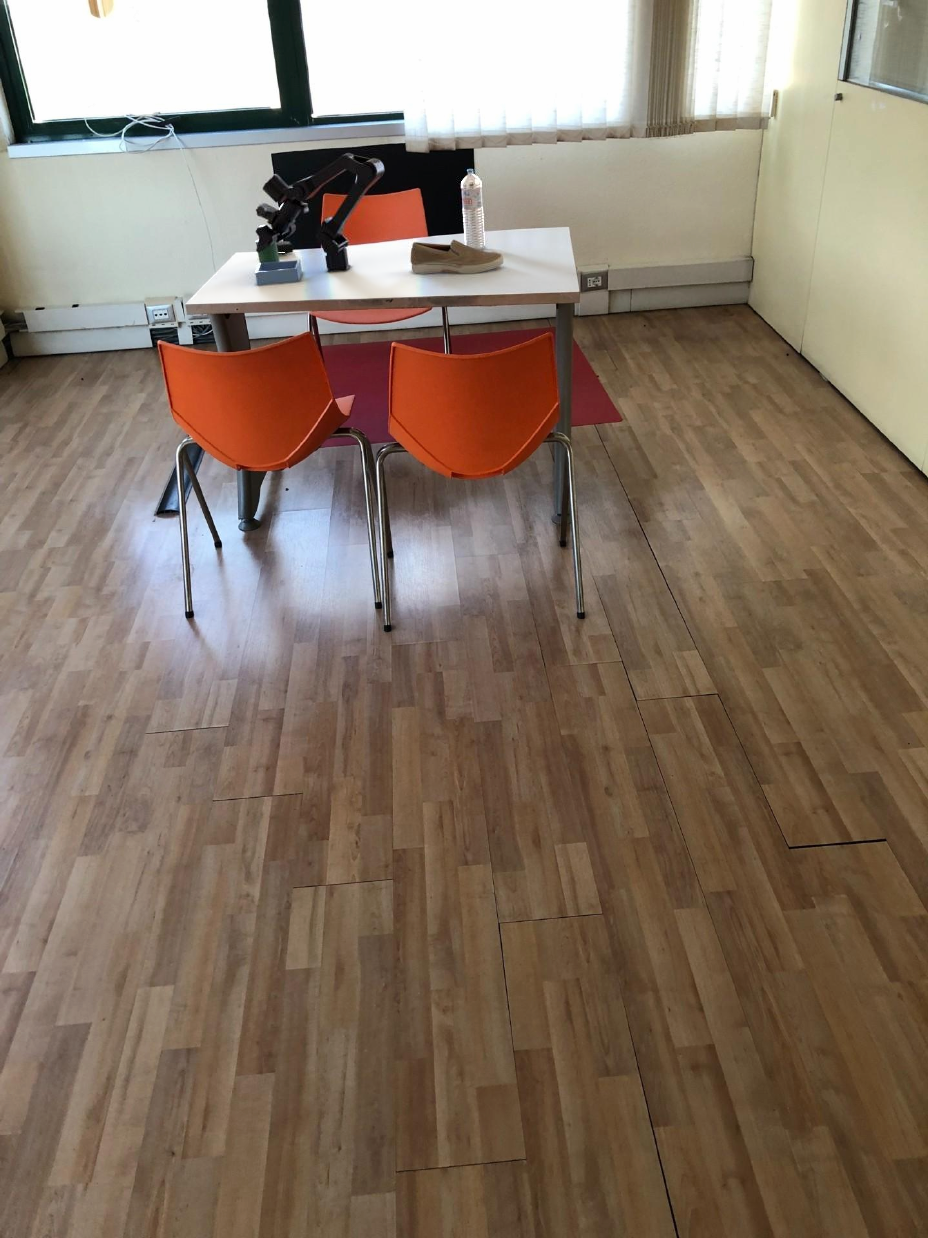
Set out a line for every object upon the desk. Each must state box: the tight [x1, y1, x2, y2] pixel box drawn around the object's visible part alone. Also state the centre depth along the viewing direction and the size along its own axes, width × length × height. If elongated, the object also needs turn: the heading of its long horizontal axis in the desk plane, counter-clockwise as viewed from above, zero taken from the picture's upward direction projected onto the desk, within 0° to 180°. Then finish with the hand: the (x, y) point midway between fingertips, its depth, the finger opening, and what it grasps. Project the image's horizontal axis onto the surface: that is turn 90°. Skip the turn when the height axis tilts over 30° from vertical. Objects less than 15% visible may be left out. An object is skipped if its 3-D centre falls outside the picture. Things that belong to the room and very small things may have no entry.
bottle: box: [255, 239, 281, 263], centre depth 322 cm, size 7×7×13 cm
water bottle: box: [460, 168, 486, 251], centre depth 322 cm, size 7×7×25 cm
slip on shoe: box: [410, 239, 505, 275], centre depth 304 cm, size 30×11×9 cm, turn 78°
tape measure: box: [276, 240, 294, 256], centre depth 343 cm, size 7×7×4 cm
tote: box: [254, 259, 303, 286], centre depth 312 cm, size 13×12×4 cm
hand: (263, 248), depth 322 cm, fingers open, 9 cm apart
